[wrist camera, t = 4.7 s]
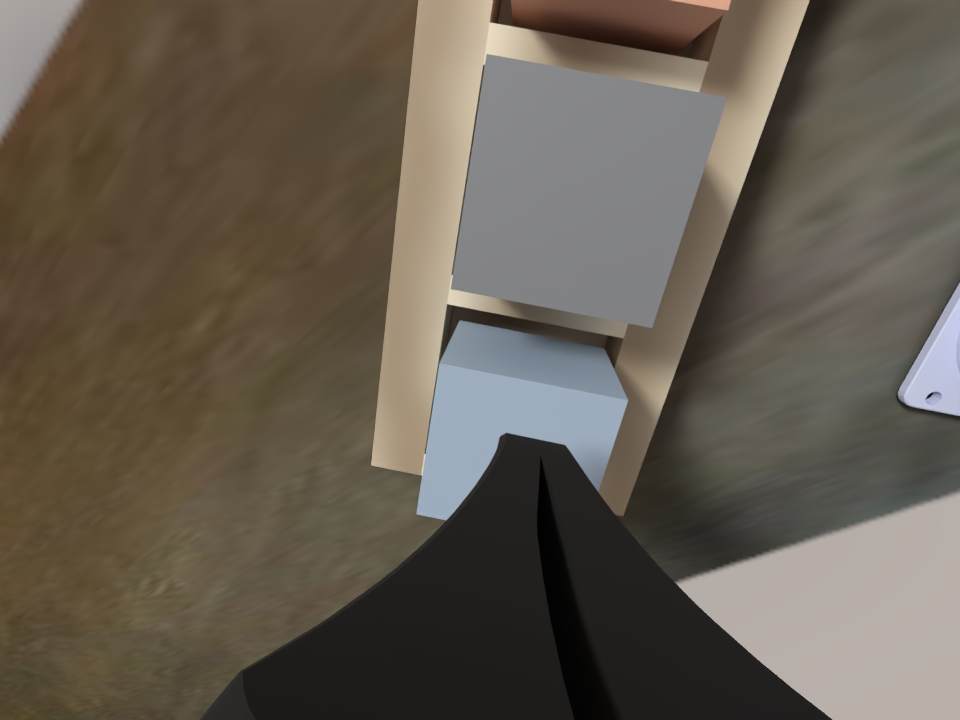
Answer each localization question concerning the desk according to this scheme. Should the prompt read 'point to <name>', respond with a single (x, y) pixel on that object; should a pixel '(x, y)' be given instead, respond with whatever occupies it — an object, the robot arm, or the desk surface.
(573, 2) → the button terracotta
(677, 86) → the board
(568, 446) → the light blue block
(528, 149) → the grey block
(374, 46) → the desk surface
